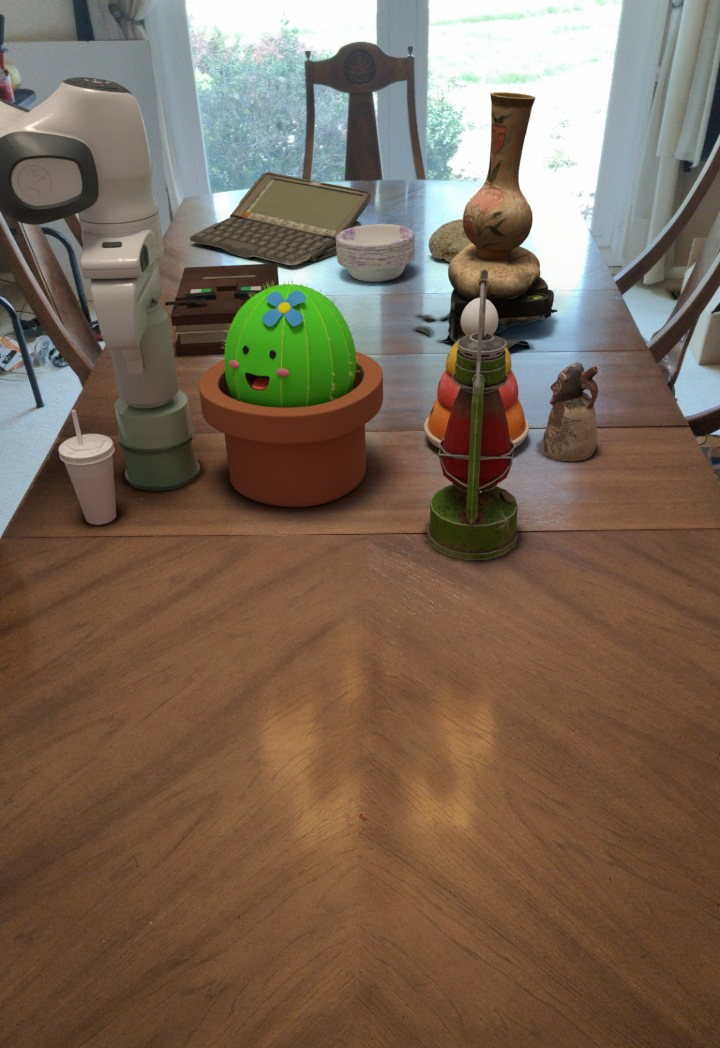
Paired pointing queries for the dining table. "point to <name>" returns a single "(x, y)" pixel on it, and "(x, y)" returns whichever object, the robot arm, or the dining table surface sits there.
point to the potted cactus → (292, 399)
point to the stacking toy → (449, 390)
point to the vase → (500, 232)
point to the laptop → (287, 220)
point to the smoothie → (91, 473)
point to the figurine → (572, 415)
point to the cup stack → (158, 444)
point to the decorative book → (214, 303)
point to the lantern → (476, 454)
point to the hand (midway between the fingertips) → (143, 358)
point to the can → (149, 365)
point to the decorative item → (448, 240)
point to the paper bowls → (375, 251)
